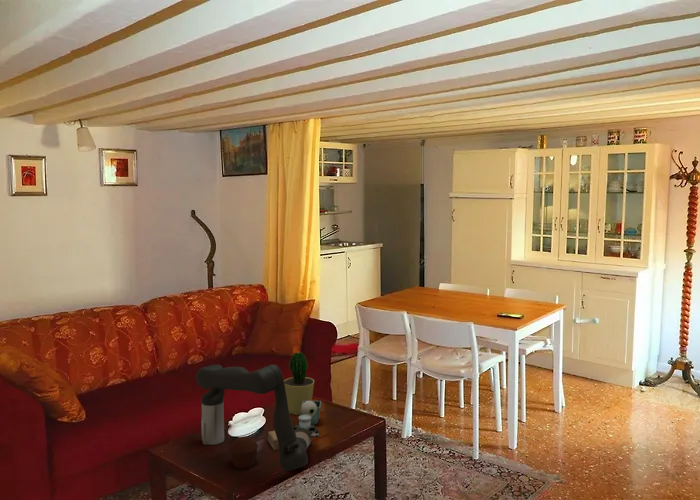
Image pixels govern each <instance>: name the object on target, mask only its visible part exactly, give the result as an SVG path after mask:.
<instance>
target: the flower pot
mask: <svg viewBox="0 0 700 500" xmlns="http://www.w3.org/2000/svg"><path fill="white" fill-rule="evenodd" d="M312 401H313V402H314V403H315V404H316V406H317V411H316V414H315V415H314V416H312V417H311V423H313V424H314V425H317V424H318V422H319V419H320V415H321V409H322V407H321V406H322V400H312ZM304 402H306V401H303V403H304ZM303 403H302V404H303ZM302 415H303V414H302Z"/></svg>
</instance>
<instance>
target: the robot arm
mask: <svg viewBox="0 0 700 500" xmlns="http://www.w3.org/2000/svg"><path fill="white" fill-rule="evenodd" d="M195 380H196V384H197V385H198V386H199V387H200V388H202V389H203V390H204V389H205V390H206V389H208V391H207V392H205V393H204V394H203V395H202V396H201V418H200V419H201V420H200V423H201V425H200V426H201V441H202V444H203V445H209V446H210V445H211V446H214V445H218V444H219V445H220V444H221V443H224V441H225V413H224V411H225V410H224V409H225V407H224V403H225V402H224V400H225V399H224V398H225V395H226V394H225V393H226V391H225V390H230V391H244V392H245V391H246V392H251V393H254V394H259V395H265V394H267V393H270V392H272V391H273V393H274V397H275V398H274V401H275V402H274V412H273V419H272V423H273V424H272V425H273V429H274V430H273V431H275V433H276V436H277V439H278V443H279V449H278V451H279V466H280V468H281V469H282V470H283V471H284V472H290V471H293V470H297V469H299V468H303V467H305V466H306V465H307V464H308V461H309V457H308V453H307V450H308V447H310V445H309V442H310V439H311V438H312V437H315V438H319V437H320V430H319V428H318V426H317V425H316V426H315V424H313V423H311V425H310V427H307V428H300V427H299V422H298V423H296V424H295V426H294V424H293V421H292V419H291V418H292V417H291V414H290V413H289V409H288V402H287V396H286V390H285V384H284V380H285V379H284V375H283V372H282V370H281V368H280V367H279V366H278V365H276V364H269V365H267V366H264V367H261V368H259V369H256V370H253V371H250V372H249V370H248V369H247V368H245V367H242V366H228V367H223V366H222V365H221V364H219V363H218V364H212V365H208V366H204V367H201V368H199V369H198V370H197V372H196V374H195ZM311 440H312V439H311ZM287 446H289V447H288V448H287Z"/></svg>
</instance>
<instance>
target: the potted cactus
mask: <svg viewBox="0 0 700 500" xmlns="http://www.w3.org/2000/svg"><path fill="white" fill-rule="evenodd" d="M308 363H309V362H308V361H307V358H306V356H305V355H304V353H303V352H293V355H292V354H291V357H290V359H289V370H290V372H291V373H290V374H291V375H292V377H288V378H286V379H284V384H285V390H286V396H287V402H288V409H289V414H290V415H296V416H297V415H298V416H300V415H302V412H301V406H302V403H303V401H313V396H314V395H313V394H314V393H313V392H314V386H315V379H313V378H312V377H308V376H306V375H307V374H308V372H307V369H309V364H308Z"/></svg>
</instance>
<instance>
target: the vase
mask: <svg viewBox="0 0 700 500" xmlns="http://www.w3.org/2000/svg"><path fill="white" fill-rule="evenodd" d="M298 420H299V422H298V423H299V427H300V428H307V427H310V425H311V416H310V415H298ZM311 441H312V439H310V442H309V446H311Z"/></svg>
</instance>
